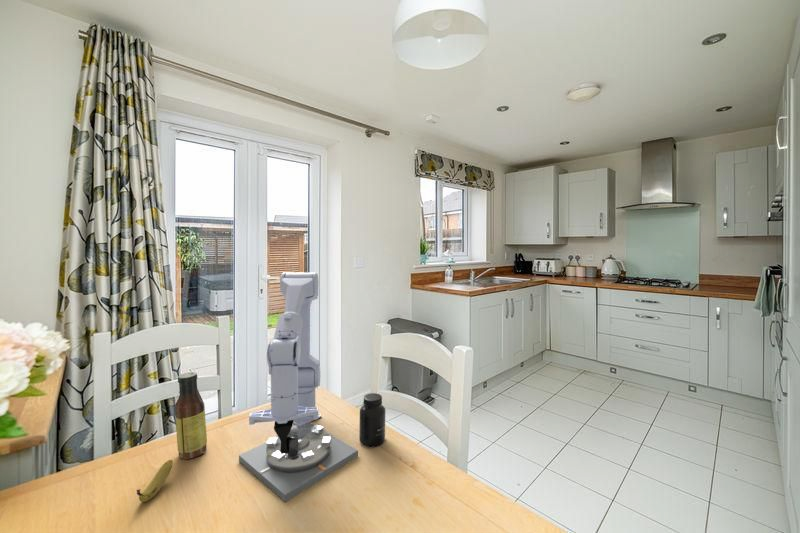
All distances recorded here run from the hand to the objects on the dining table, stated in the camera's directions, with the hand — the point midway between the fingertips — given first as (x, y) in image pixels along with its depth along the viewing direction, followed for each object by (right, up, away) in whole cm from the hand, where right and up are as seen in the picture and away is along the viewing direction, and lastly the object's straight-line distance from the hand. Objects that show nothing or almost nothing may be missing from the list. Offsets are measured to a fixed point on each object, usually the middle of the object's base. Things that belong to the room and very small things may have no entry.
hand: (284, 451), depth 78 cm
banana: (-25, -6, -5) cm, 26 cm away
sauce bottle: (-26, -5, +8) cm, 27 cm away
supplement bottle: (+19, -5, +14) cm, 24 cm away
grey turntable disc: (+2, -3, +6) cm, 7 cm away
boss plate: (+2, -5, +6) cm, 8 cm away
